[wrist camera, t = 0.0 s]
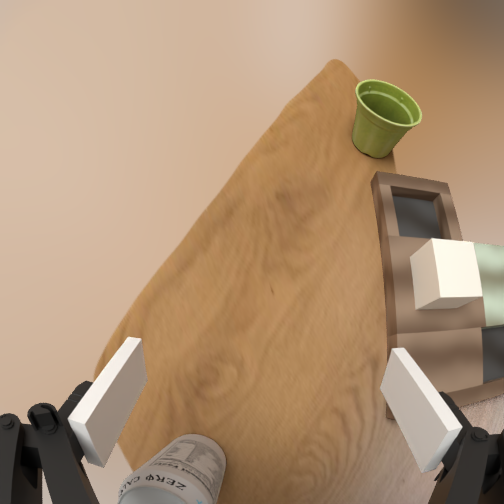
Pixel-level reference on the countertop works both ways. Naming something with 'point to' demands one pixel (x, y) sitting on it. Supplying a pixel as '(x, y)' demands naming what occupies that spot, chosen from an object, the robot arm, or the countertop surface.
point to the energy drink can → (178, 474)
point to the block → (445, 274)
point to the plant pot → (382, 117)
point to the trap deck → (438, 320)
